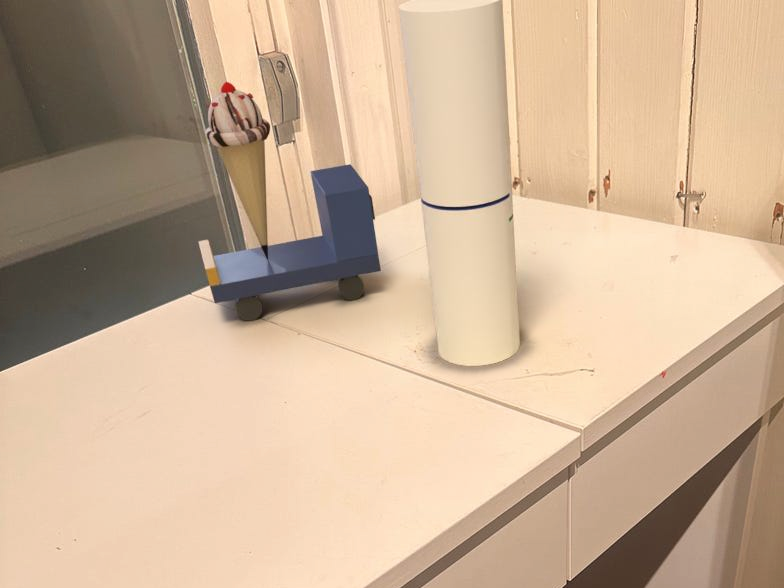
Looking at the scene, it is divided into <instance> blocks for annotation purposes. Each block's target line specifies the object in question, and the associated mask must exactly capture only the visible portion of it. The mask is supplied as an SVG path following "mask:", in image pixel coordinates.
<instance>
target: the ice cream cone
mask: <svg viewBox="0 0 784 588" xmlns="http://www.w3.org/2000/svg"><path fill="white" fill-rule="evenodd" d="M206 108H207V109H208V111H207V112H208V113H207V120H208V121H207V122H208V127H207V128H206V130H205V138H206V139H207V141H208V142H209V143H210V145H212V146H213V147H215V148H216V149H217V151H218V153H219V156H220V158H221V160H222V162H223V164H224V167H225V169H226V171H227V173H228V176H229V177H230V180H231V183H232V185H233V187H234V188H235V191H236V193H237V196H238V198H239V200H240V203H241V205H242V207H243V209H244V212H245V214H246V216H247V218H248V220H249V223H250V225H251V227H252V229H253V232H254V234H255V236H256V238H257V240H258V243H259V245H260V247H262V249H263V252H264V254H265V256H266V258H267V260H268V246H269V243H268V241H269V240H268V210H267V208H268V207H267V181H266V180H267V179H266V177H267V176H266V175H267V174H266V145H265V141H266V140H267V139H268V137H269V135H270V132H271V124H270V122H269V121H268V120H267V119H265V118H263V115H262V111H261V109H260V107H259V105H258V104H257V103H256V102H255V100H254V96H253V94H252V93H251V92H248V93H246V92H244V91H241V90H239V89H236V87H235V86H234V84H233V83H231V82H228V81H225V82H224V83H223V84H222V86H221V88H220V92H218V94H216V95H215V96H214V97H213V99H212V100H211V102H210V103H208V104H206Z"/></svg>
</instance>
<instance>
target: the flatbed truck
mask: <svg viewBox="0 0 784 588" xmlns="http://www.w3.org/2000/svg"><path fill="white" fill-rule="evenodd" d="M310 176H311V177H310V178H311V182H312V187H313V188H312V189H313V192H314V193H313V194H314V199H315V203H316V209H317V214H318V220H319V224H320V230H321V235H319V236H313V237H308V238H302V239H297V240H292V241H291V240H290V241H286V242H281V243H275V244H269V245H268V260H267V258H266V256H265V254H264V252H263V249H262V247H261V246H260V247H254V248H248V249H244V250H238V251H233V252H226V253H223V254H217V255H214V254H213V251H212V247H211V244H210V240H209V239H203V240H199V241H198V246H199V251H200V254H201V258H202V263H203V266H204V269H205V274H206V278H207V281H208V284H209V288H210V291H211V295H212V299H213V302H214V304H219V303H225V302H229V301H234V300H235V309H236V312H237V314H238V316H239V317H240V318H241V319H243V320H245V321H255V320H257V319H259V318H260V317H261V315H262V313H263V304H262V302H261V300H260V298H259V297H258V296H260V295H264V294H265V295H266V294H269V293H275V292H280V291H286V290H290V289H291V290H292V289H296V288H302V287H306V286H310V285H316V284H321V283H326V282H331V281H336V280H338V284H337V286H338V291H339V293H340V295H341V296H342V297H343V298H344V299H346V300H349V301H356V300H357V299H359V298H361V296H362V295H363V293H364V291H365V284H364V281H363V279H362V278H361V277H360V276H362V275H367V274H368V275H369V274H371V273H377V272H381V270H382V269H381V262H380V257H379V249H378V242H377V235H376V229H375V224H374V223H375V222H374V221H375V220H376V215H375V209H374V203H373V197H372V195H371V194H370V189H369V186H368V185H367V184H366V182H365V181H364V179H363V178H362V177H361V176H360V174H359V173H358V172H357V171H356V169H355V168H354V167H353V165H352V164H351V163H350V164H345V165H344V164H343V165H337V166H333V167H332V166H331V167H326V168H320V169H315V170H310Z"/></svg>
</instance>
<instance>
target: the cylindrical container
mask: <svg viewBox="0 0 784 588" xmlns="http://www.w3.org/2000/svg"><path fill="white" fill-rule="evenodd" d="M503 2H504V1H503V0H408V1H405V2H403V3H401V4H399V6H398V13H399V20H400V22H399V23H400V28H401V38H402V39H401V40H402V48H403V57H404V64H405V65H404V67H405V73H406V82H407V91H408V100H409V108H410V118H411V126H412V134H413V142H414V153H415V161H416V168H417V177H418V178H417V179H418V186H419V193H420V202H421V213H422V220H423V228H424V229H423V230H424V238H425V247H426V256H427V264H428V265H427V266H428V273H429V281H430V290H431V298H432V299H431V300H432V306H433V307H432V308H433V316H434V326H435V335H436V342H437V351H438V354H439V356H440V358H442V359H443V360H444V361H445V362H447V363H450V364H454V365H457V366H464V367H479V366H488V365H493V364H497V363H501V362H502V361H505V360H508V359H509V358H511V357H512V356H514V355H515V354H516V353H517V352H518V351H519V349H520V346H521V341H520V340H521V339H520V338H521V337H520V320H519V319H520V317H519V303H518V301H519V299H518V281H517V280H518V279H517V260H516V243H515V241H516V240H515V223H514V220H515V219H514V203H513V183H512V181H513V180H512V165H511V164H512V163H511V141H510V124H509V123H510V122H509V121H510V120H509V102H508V82H507V65H506V64H507V63H506V44H505V42H506V41H505V24H504V4H503Z"/></svg>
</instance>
